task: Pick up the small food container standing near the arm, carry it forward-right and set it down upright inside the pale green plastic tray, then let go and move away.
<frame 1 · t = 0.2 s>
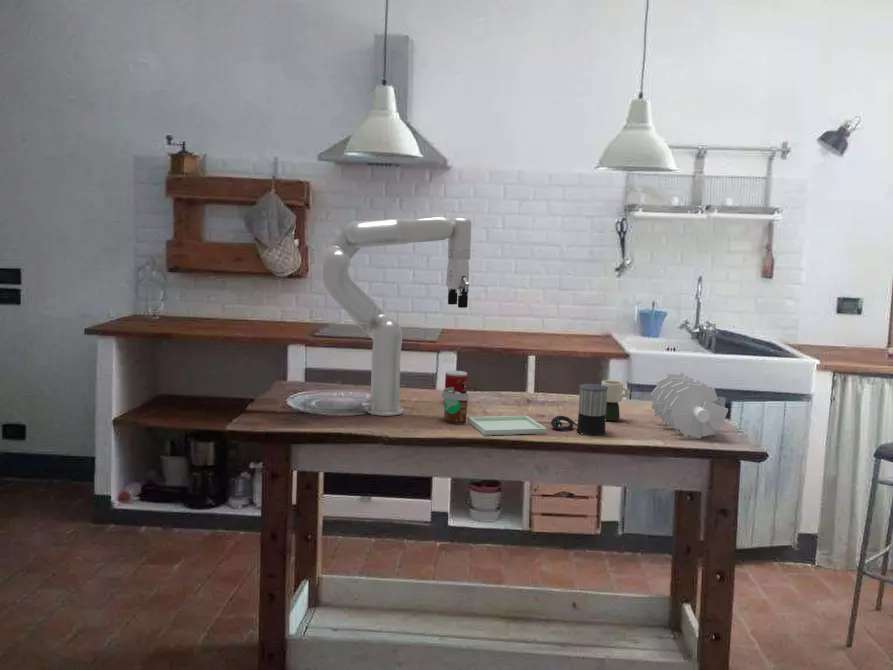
hand: (457, 305, 316), 36 cm above the table, tool pointing down, fingers open, 9 cm apart
food container: (451, 421, 306), on the table
tray: (506, 428, 299), on the table
milk frother: (578, 431, 299), on the table
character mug: (610, 420, 316), on the table
spiral staircase: (685, 432, 303), on the table
canned food: (455, 403, 335), on the table
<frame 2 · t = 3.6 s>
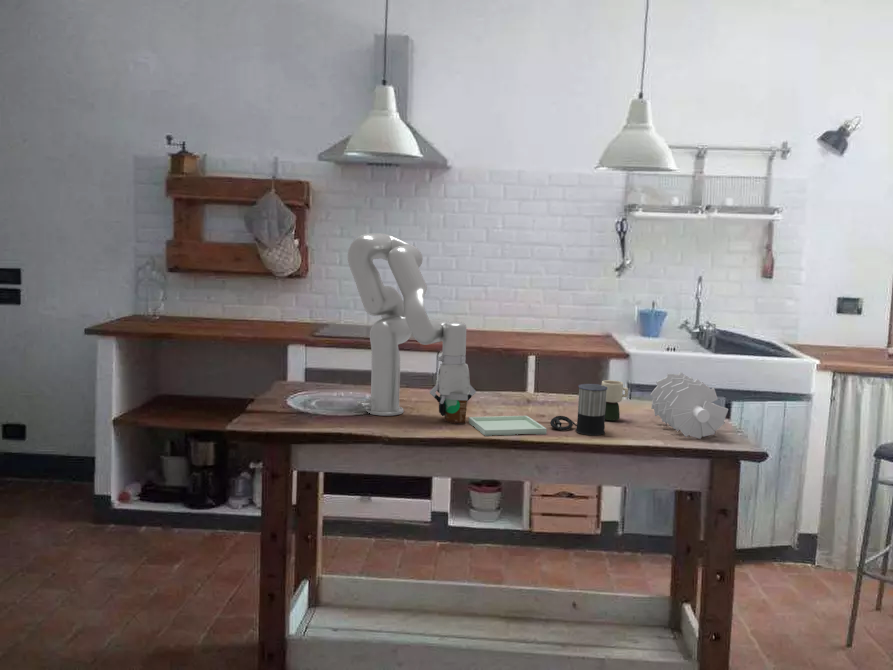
hand: (452, 414, 306), 2 cm above the table, tool pointing down, fingers open, 5 cm apart
food container: (450, 421, 306), on the table, touching gripper
everything else where it was.
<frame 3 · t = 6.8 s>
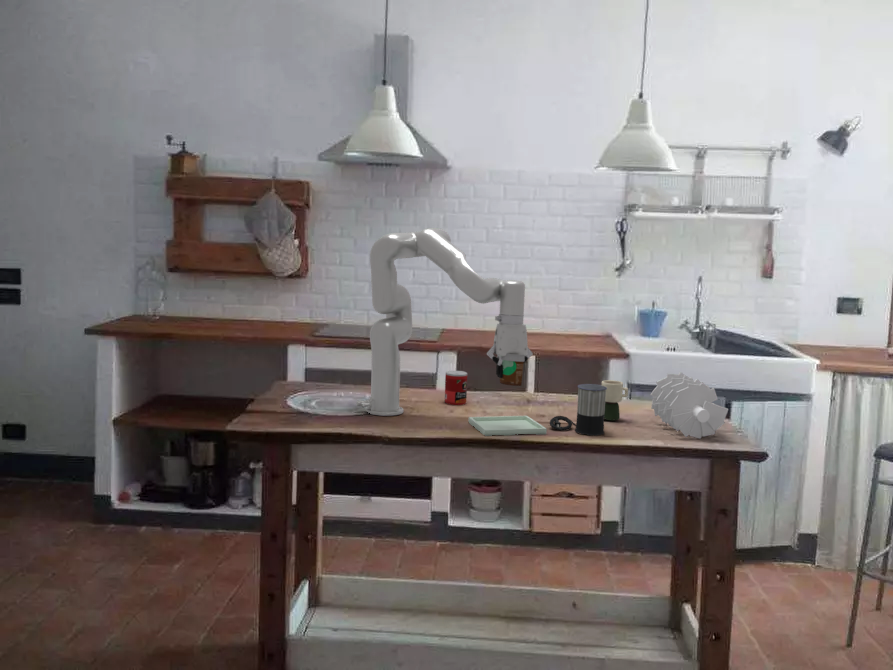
hand: (508, 376, 297), 17 cm above the table, tool pointing down, fingers closed on food container, 5 cm apart
food container: (506, 383, 297), point 14 cm above the table, touching gripper
everything else where it was.
when the fingers open (4 cm above the table, at t = 9.8 s): food container drops 1 cm, resting on tray.
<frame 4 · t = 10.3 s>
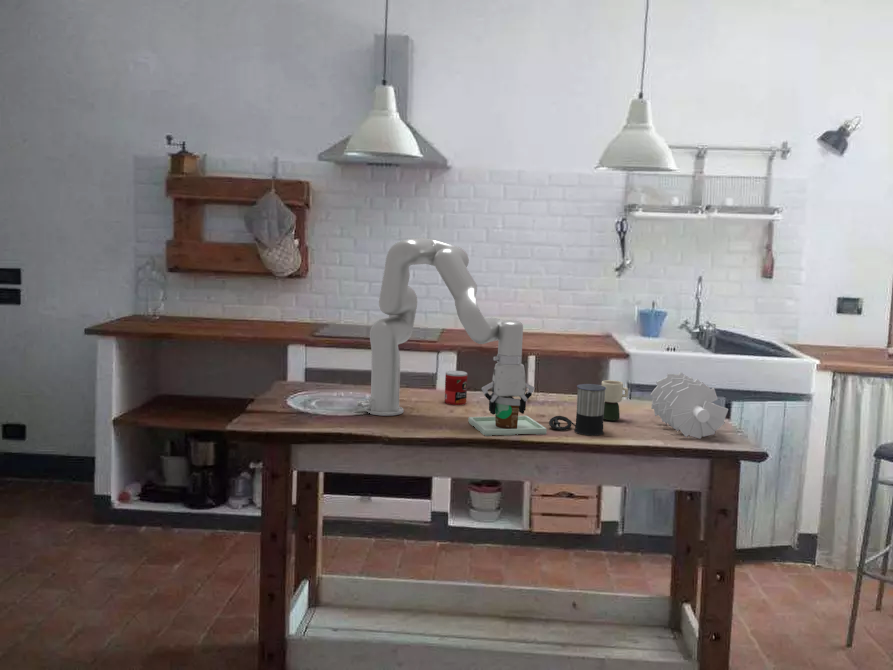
hand: (507, 413, 298), 5 cm above the table, tool pointing down, fingers open, 9 cm apart
food container: (502, 426, 299), resting on tray, touching gripper
everything else where it was.
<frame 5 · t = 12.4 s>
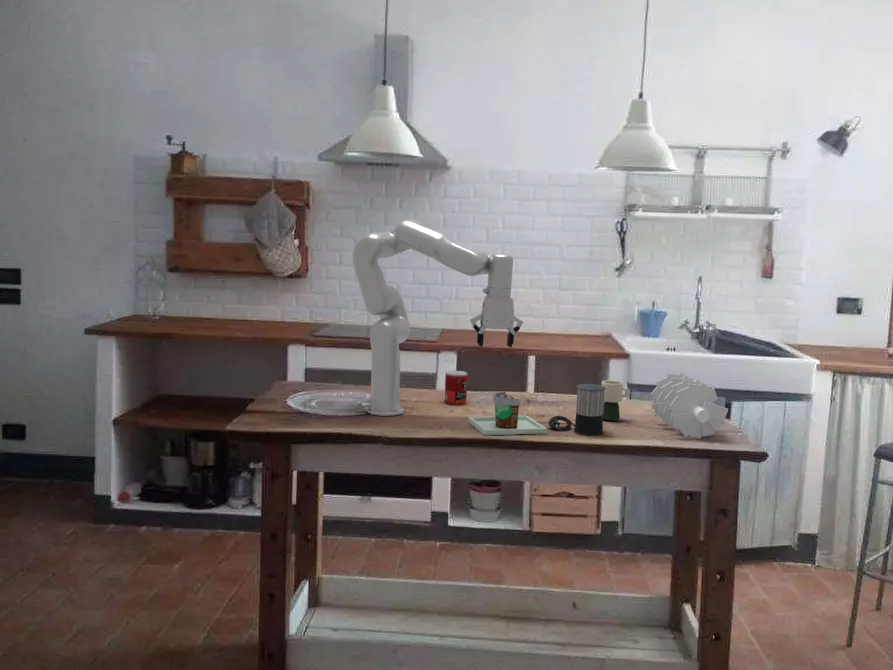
hand: (494, 346, 301), 25 cm above the table, tool pointing down, fingers open, 9 cm apart
food container: (502, 427, 299), resting on tray
everything else where it was.
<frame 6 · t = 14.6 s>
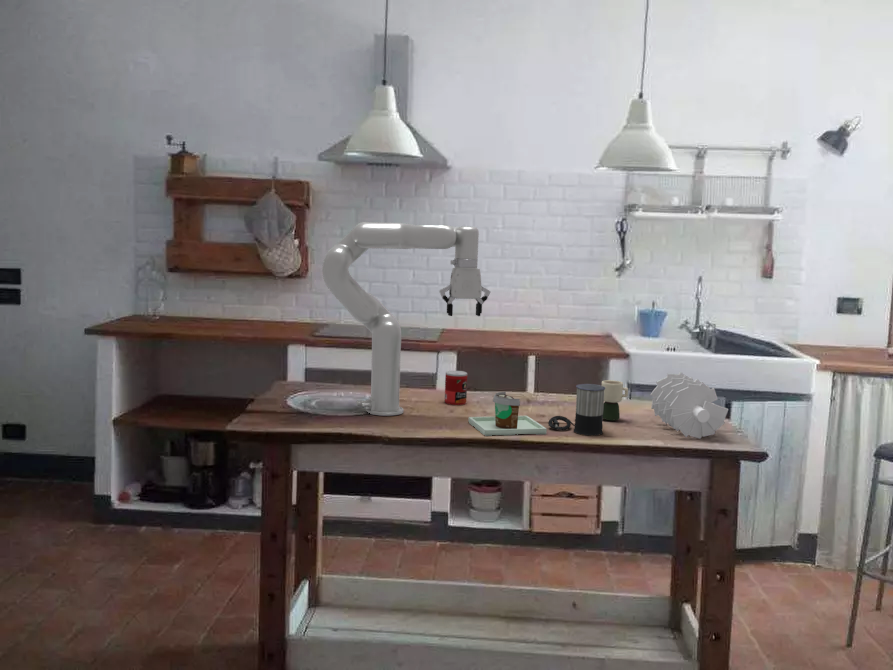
hand: (464, 315, 313), 33 cm above the table, tool pointing down, fingers open, 9 cm apart
nothing on the table moved.
at the end: food container inside the target area on the tray (1.5 cm from its centre), point 0.4 cm above the tray's base; food container tilted 0°; the gripper is holding nothing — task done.
